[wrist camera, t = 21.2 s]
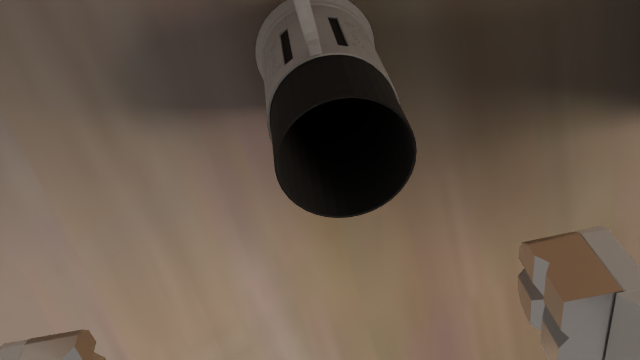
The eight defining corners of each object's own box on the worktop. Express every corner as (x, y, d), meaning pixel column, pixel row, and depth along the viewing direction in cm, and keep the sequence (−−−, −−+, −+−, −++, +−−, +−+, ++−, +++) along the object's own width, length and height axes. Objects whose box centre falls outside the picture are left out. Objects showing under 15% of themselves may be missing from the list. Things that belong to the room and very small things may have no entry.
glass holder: (275, 119, 46) (289, 244, 34) (210, -68, 38) (197, 5, 26) (384, 88, 46) (439, 202, 33) (342, -108, 38) (393, -54, 25)
